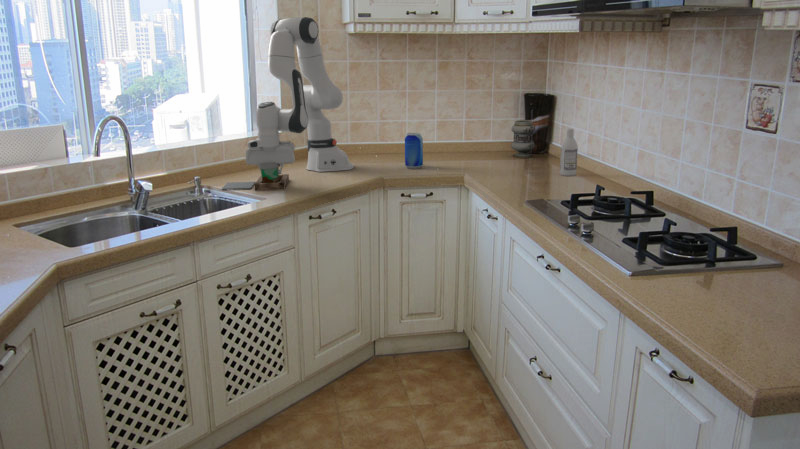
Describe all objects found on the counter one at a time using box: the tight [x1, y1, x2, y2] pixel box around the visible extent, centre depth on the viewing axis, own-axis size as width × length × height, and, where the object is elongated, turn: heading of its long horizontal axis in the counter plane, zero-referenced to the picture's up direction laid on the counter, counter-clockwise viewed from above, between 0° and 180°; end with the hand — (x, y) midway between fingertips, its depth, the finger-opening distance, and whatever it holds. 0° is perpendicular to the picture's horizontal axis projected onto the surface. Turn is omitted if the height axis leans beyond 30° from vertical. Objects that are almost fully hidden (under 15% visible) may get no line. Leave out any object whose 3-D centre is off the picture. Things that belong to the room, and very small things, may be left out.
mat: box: [221, 181, 256, 191], centre depth 272 cm, size 12×12×1 cm
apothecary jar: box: [510, 119, 536, 159], centre depth 323 cm, size 12×12×18 cm
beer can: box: [404, 132, 424, 170], centre depth 302 cm, size 8×8×16 cm
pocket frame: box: [254, 173, 290, 191], centre depth 274 cm, size 12×18×2 cm, turn 3°
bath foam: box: [559, 128, 579, 177], centre depth 279 cm, size 7×7×20 cm
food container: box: [259, 163, 281, 183], centre depth 273 cm, size 12×6×10 cm, turn 172°
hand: (271, 174), depth 273 cm, fingers closed on food container, 6 cm apart
